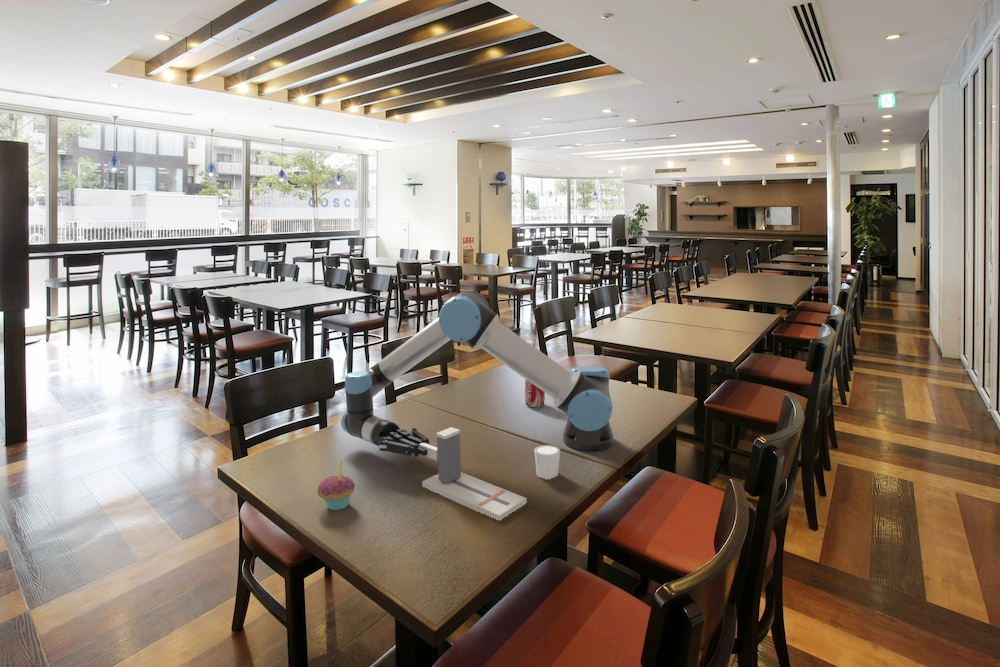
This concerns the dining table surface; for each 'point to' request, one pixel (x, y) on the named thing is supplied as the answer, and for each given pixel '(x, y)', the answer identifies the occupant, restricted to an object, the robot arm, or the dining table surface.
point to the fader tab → (449, 455)
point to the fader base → (477, 495)
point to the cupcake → (336, 490)
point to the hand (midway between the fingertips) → (438, 454)
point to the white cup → (547, 461)
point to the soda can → (533, 395)
